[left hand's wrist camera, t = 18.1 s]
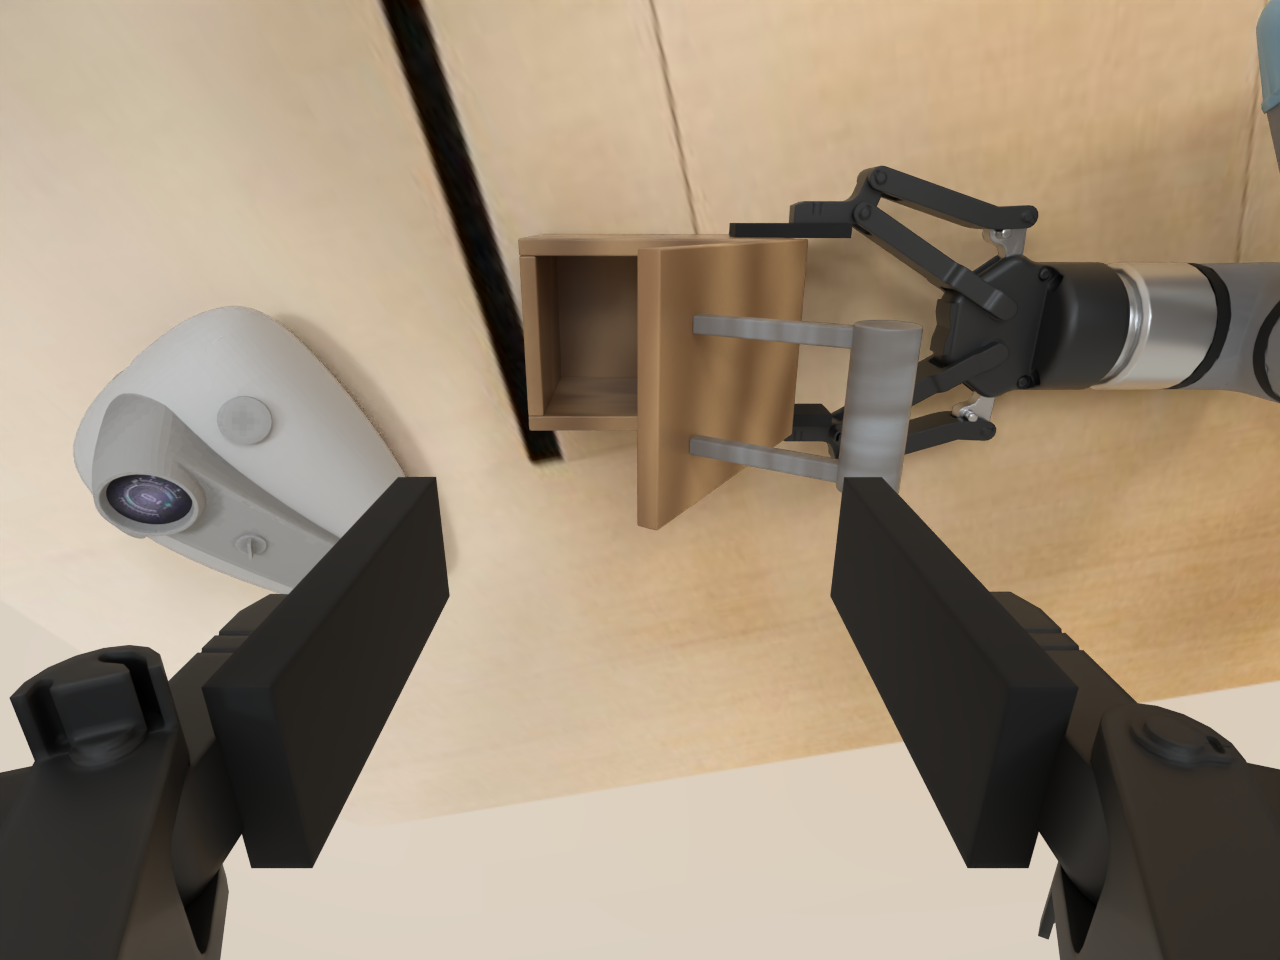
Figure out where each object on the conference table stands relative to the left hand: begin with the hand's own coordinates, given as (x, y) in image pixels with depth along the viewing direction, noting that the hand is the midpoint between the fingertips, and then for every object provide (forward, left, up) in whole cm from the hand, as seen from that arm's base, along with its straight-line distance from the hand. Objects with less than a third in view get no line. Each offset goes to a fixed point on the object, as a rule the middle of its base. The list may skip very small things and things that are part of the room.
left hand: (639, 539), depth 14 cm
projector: (-18, -20, -36) cm, 45 cm away
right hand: (+5, +2, -29) cm, 30 cm away
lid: (+3, +1, -18) cm, 18 cm away
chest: (+1, 0, -36) cm, 36 cm away
